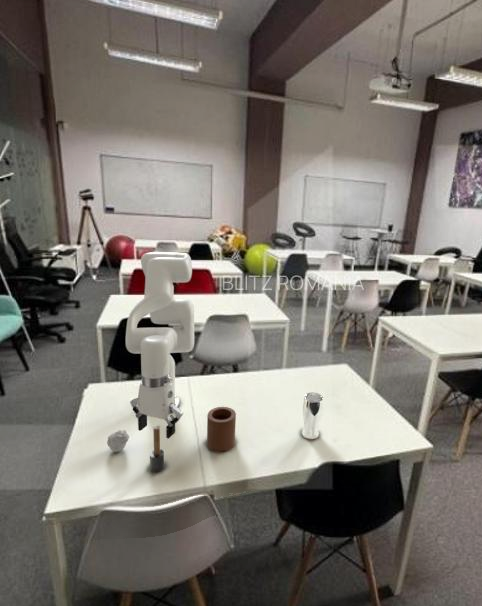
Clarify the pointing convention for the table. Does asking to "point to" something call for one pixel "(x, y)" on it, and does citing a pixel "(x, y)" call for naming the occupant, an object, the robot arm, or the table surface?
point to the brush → (156, 452)
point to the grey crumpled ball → (118, 440)
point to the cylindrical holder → (221, 429)
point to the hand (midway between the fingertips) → (156, 431)
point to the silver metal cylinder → (312, 414)
